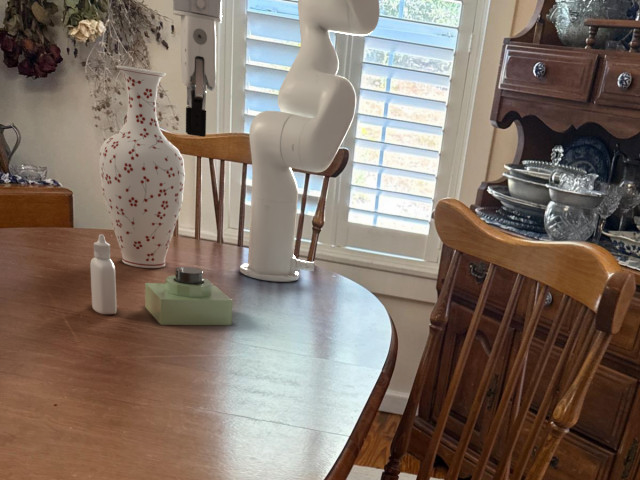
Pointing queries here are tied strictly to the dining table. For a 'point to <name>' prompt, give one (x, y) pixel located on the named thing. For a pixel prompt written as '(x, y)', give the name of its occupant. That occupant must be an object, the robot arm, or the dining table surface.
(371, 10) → the robot arm
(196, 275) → the dark grey button cap
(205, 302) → the button base
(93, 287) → the eye dropper bottle
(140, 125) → the vase
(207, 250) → the dining table surface
